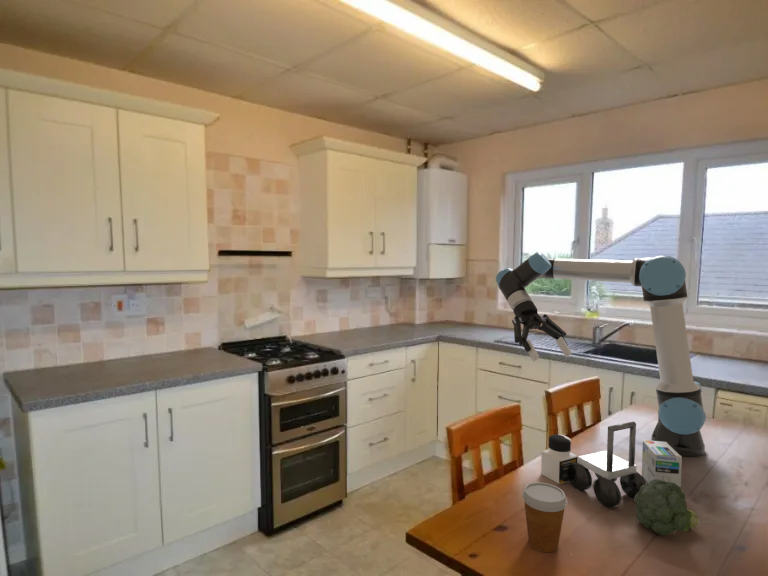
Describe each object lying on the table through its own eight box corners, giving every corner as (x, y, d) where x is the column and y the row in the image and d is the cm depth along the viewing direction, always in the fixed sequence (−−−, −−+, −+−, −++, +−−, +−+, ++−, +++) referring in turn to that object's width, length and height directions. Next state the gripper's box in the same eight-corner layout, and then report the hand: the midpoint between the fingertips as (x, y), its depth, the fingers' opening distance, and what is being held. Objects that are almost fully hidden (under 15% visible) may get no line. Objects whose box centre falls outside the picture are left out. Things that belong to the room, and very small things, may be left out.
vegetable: (725, 539, 100) (672, 516, 98) (676, 555, 108) (626, 534, 106) (704, 486, 110) (656, 463, 107) (661, 504, 118) (614, 484, 115)
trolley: (596, 476, 134) (599, 406, 132) (647, 503, 119) (650, 425, 118) (567, 483, 129) (569, 412, 128) (615, 512, 115) (618, 432, 113)
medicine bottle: (559, 485, 129) (560, 443, 128) (540, 474, 135) (541, 434, 134) (577, 479, 132) (578, 439, 131) (558, 469, 138) (559, 430, 137)
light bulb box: (681, 495, 123) (683, 456, 122) (653, 493, 124) (655, 454, 124) (665, 476, 133) (667, 440, 133) (640, 474, 135) (641, 439, 134)
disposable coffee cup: (514, 531, 107) (515, 482, 106) (554, 529, 108) (555, 480, 107) (531, 558, 97) (532, 504, 97) (574, 556, 98) (575, 502, 97)
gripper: (544, 311, 168) (575, 360, 155) (488, 314, 158) (516, 367, 146) (555, 298, 163) (588, 347, 150) (498, 300, 153) (527, 353, 140)
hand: (552, 357), depth 148 cm, fingers open, 13 cm apart
